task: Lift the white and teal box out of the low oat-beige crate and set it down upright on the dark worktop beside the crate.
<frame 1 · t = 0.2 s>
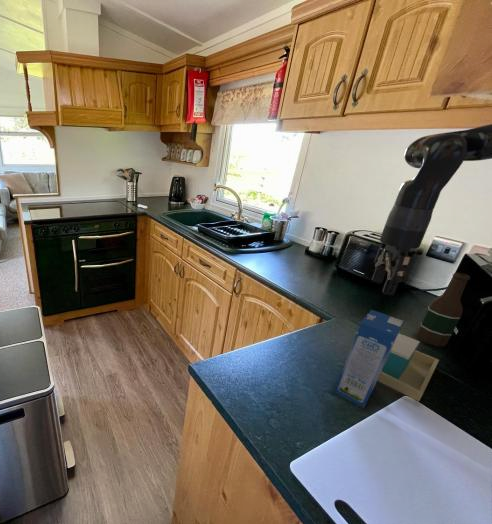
hand: (381, 287, 74), 24 cm above the countertop, tool pointing down, fingers open, 8 cm apart
beer bottle: (429, 340, 96), on the countertop
milk carton: (353, 390, 72), on the countertop
crate: (390, 367, 81), on the countertop
white and teal box: (391, 365, 81), point 1 cm above the countertop, touching crate
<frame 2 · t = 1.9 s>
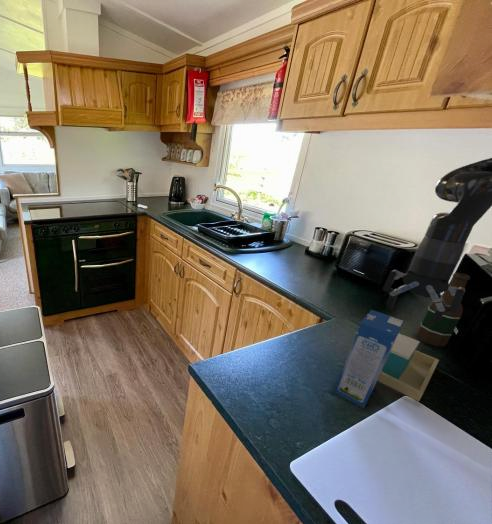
hand: (410, 315, 75), 17 cm above the countertop, tool pointing down, fingers open, 8 cm apart
nothing on the countertop moved.
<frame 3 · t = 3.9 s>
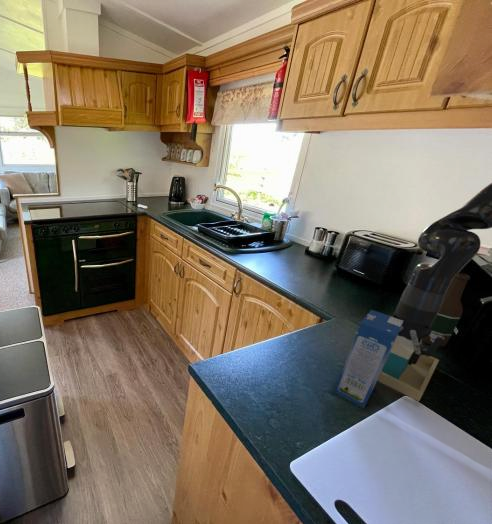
hand: (395, 356, 80), 4 cm above the countertop, tool pointing down, fingers closed on white and teal box, 6 cm apart
white and teal box: (391, 365, 81), point 1 cm above the countertop, touching crate, gripper
everything else where it was.
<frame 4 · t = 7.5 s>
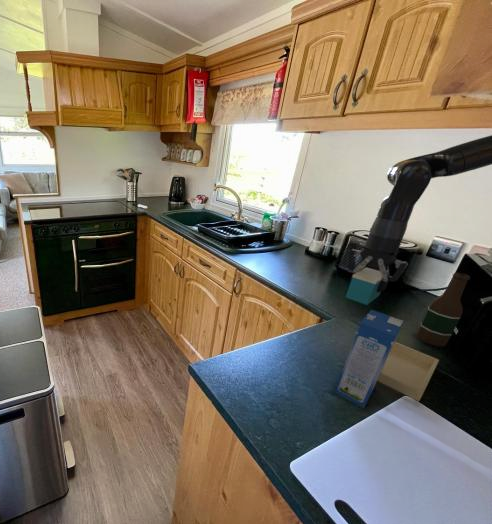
hand: (366, 287, 88), 18 cm above the countertop, tool pointing down, fingers closed on white and teal box, 6 cm apart
white and teal box: (362, 296, 89), point 15 cm above the countertop, touching gripper
everything else where it was.
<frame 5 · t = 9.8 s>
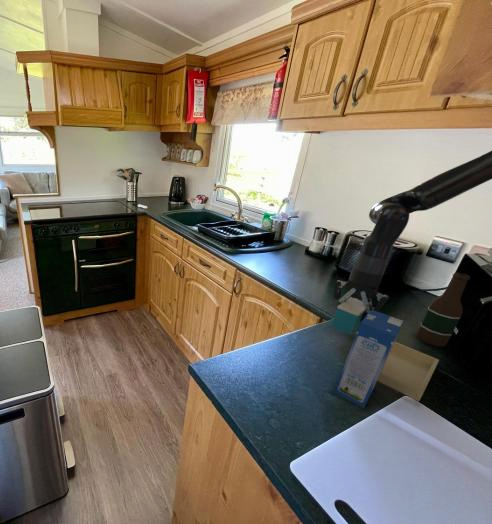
hand: (350, 316, 93), 7 cm above the countertop, tool pointing down, fingers closed on white and teal box, 6 cm apart
white and teal box: (347, 324, 94), point 4 cm above the countertop, touching gripper
everything else where it was.
when the fingers open (3 cm above the countertop, at t = 11.4 s): white and teal box stays where it is, on the countertop.
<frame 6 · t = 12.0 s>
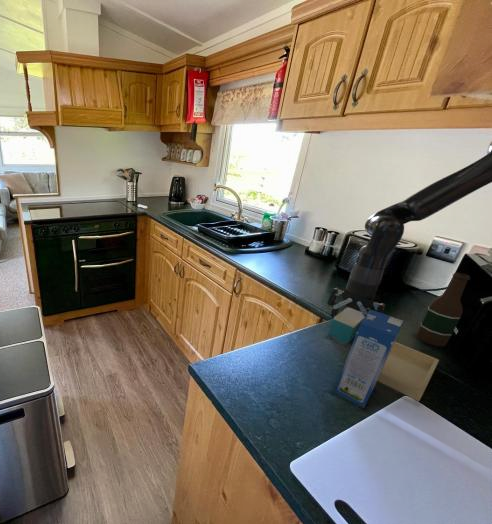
hand: (347, 324, 94), 4 cm above the countertop, tool pointing down, fingers open, 8 cm apart
white and teal box: (343, 335, 96), on the countertop
everything else where it was.
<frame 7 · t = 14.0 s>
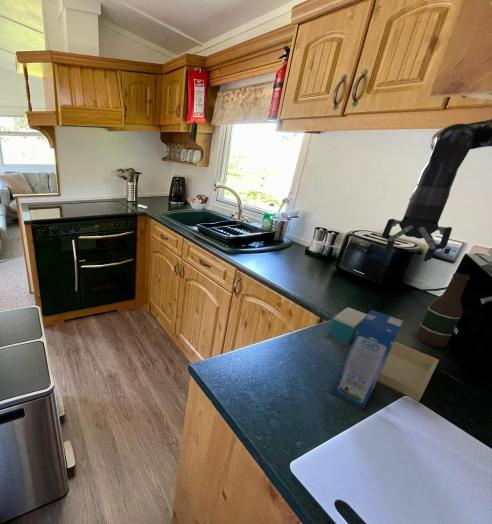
hand: (406, 256, 87), 28 cm above the countertop, tool pointing down, fingers open, 8 cm apart
nothing on the countertop moved.
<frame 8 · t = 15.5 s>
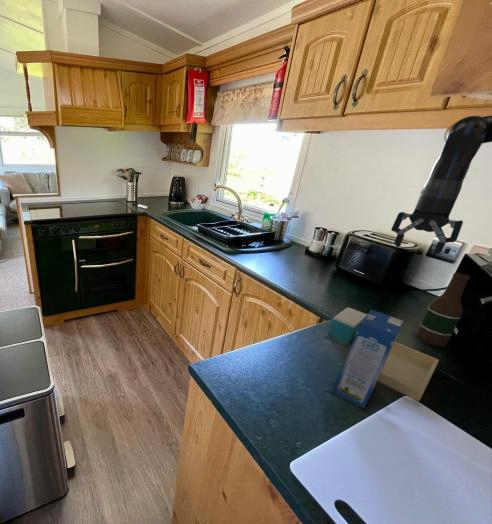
hand: (415, 250, 87), 30 cm above the countertop, tool pointing down, fingers open, 8 cm apart
nothing on the countertop moved.
at the end: white and teal box inside the target area (0.0 cm from its centre), on the countertop; white and teal box tilted 0°; the gripper is holding nothing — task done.
